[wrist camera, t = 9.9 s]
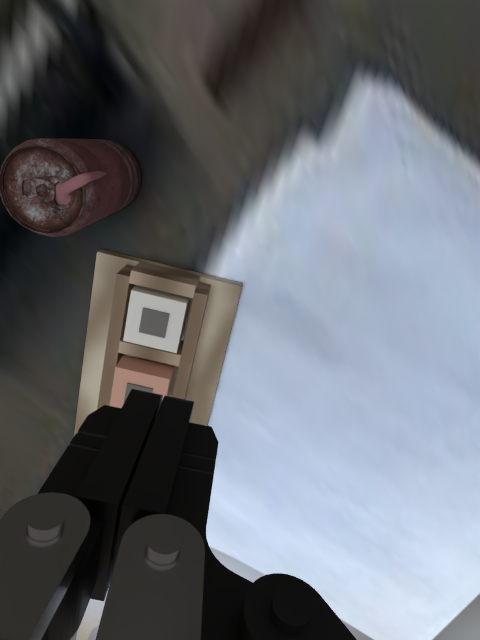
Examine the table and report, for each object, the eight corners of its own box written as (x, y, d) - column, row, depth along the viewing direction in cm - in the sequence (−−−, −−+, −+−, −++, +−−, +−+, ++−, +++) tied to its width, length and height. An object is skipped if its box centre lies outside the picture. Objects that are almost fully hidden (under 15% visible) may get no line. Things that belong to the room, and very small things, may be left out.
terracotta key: (174, 366, 44) (169, 380, 41) (165, 410, 46) (160, 425, 43) (123, 354, 44) (114, 367, 41) (116, 398, 45) (107, 414, 43)
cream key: (190, 294, 43) (186, 304, 40) (180, 342, 44) (176, 354, 42) (138, 282, 42) (130, 290, 40) (130, 330, 44) (122, 341, 42)
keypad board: (242, 282, 45) (240, 296, 40) (197, 462, 53) (192, 489, 49) (101, 247, 44) (84, 259, 40) (77, 435, 52) (61, 460, 48)
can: (157, 191, 42) (110, 213, 29) (98, 220, 43) (28, 254, 30) (124, 126, 40) (58, 118, 27) (63, 158, 41) (-28, 165, 28)
